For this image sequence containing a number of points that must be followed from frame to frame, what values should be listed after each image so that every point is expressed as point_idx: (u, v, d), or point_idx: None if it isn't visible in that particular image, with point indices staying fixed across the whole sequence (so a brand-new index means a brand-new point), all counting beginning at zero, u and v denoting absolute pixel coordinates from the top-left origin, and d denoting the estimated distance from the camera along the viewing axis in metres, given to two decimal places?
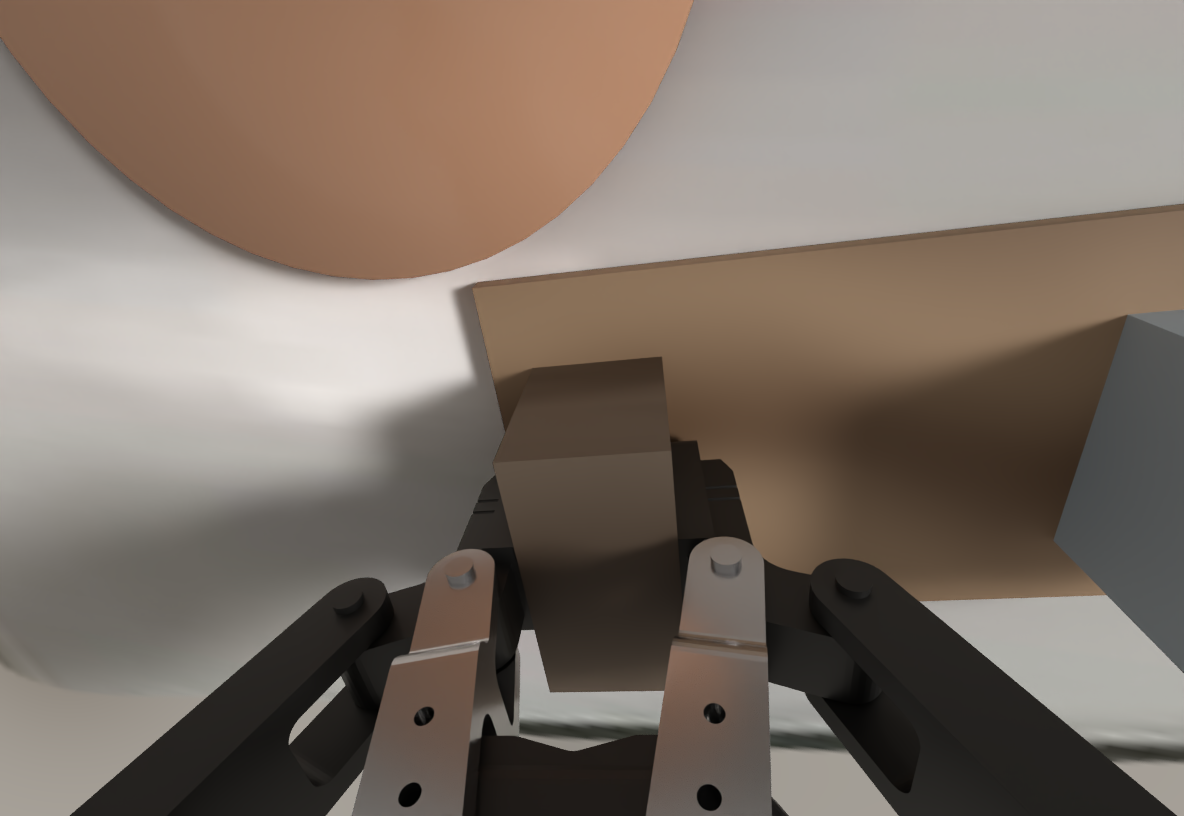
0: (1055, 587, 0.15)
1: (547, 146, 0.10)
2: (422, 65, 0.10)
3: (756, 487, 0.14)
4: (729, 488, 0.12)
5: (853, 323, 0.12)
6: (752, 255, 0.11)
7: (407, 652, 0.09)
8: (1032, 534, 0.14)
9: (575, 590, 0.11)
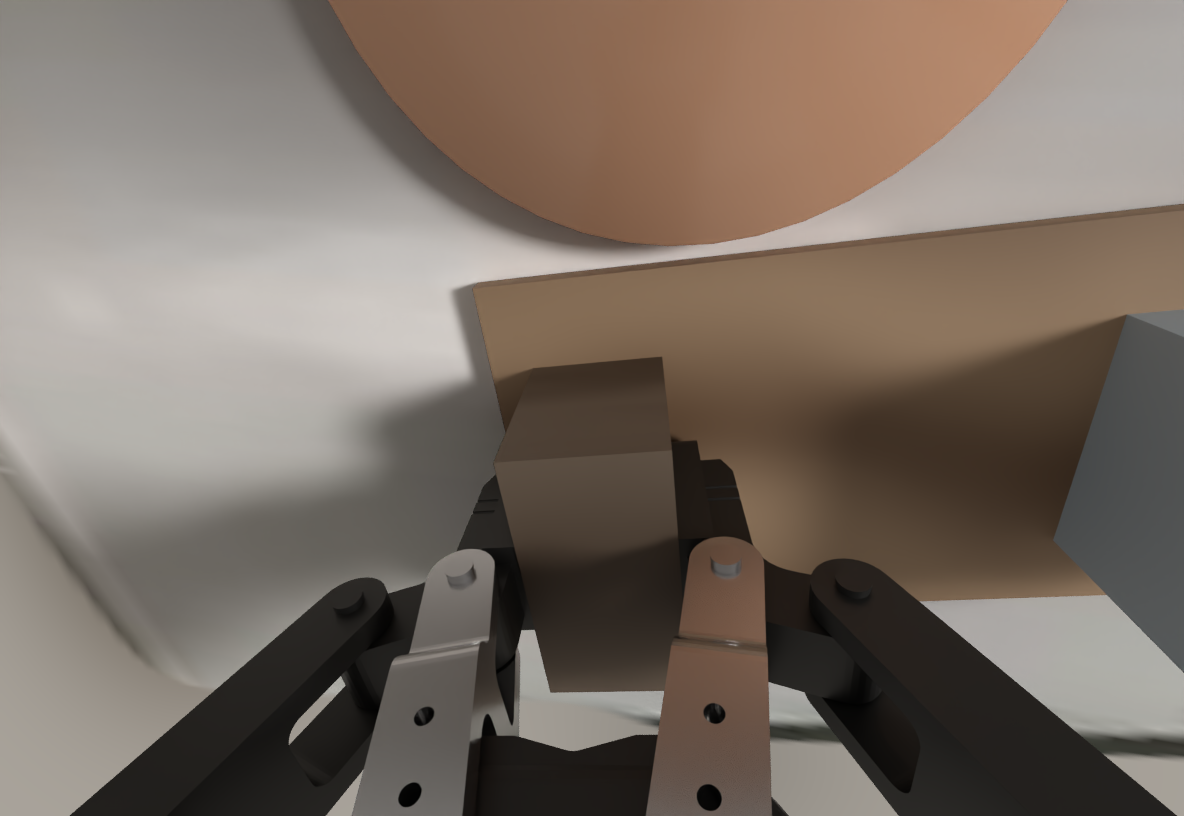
0: (1055, 587, 0.15)
1: (902, 96, 0.09)
2: (785, 5, 0.09)
3: (756, 487, 0.14)
4: (729, 488, 0.12)
5: (853, 323, 0.12)
6: (752, 255, 0.11)
7: (407, 652, 0.09)
8: (1032, 534, 0.14)
9: (575, 590, 0.11)
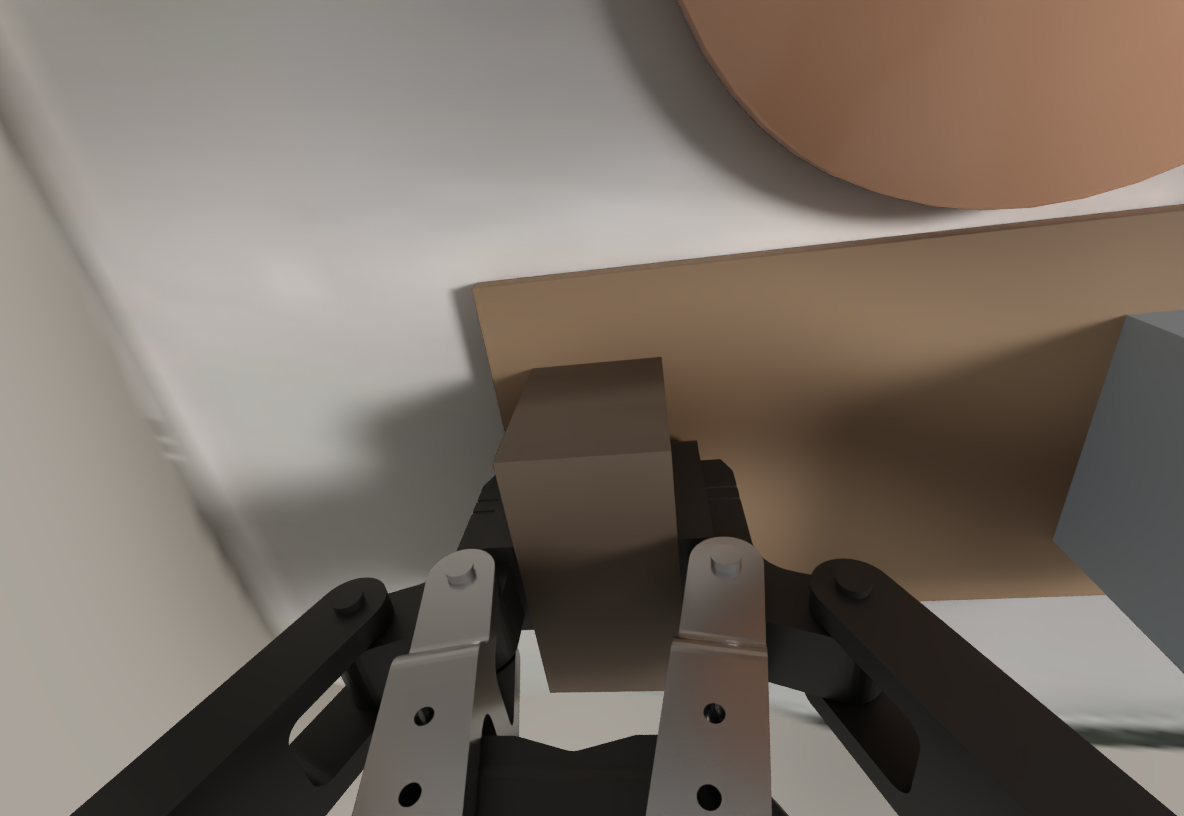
0: (1054, 587, 0.15)
1: None
2: None
3: (756, 487, 0.14)
4: (729, 488, 0.12)
5: (852, 323, 0.12)
6: (752, 255, 0.11)
7: (407, 652, 0.09)
8: (1031, 534, 0.14)
9: (575, 590, 0.11)
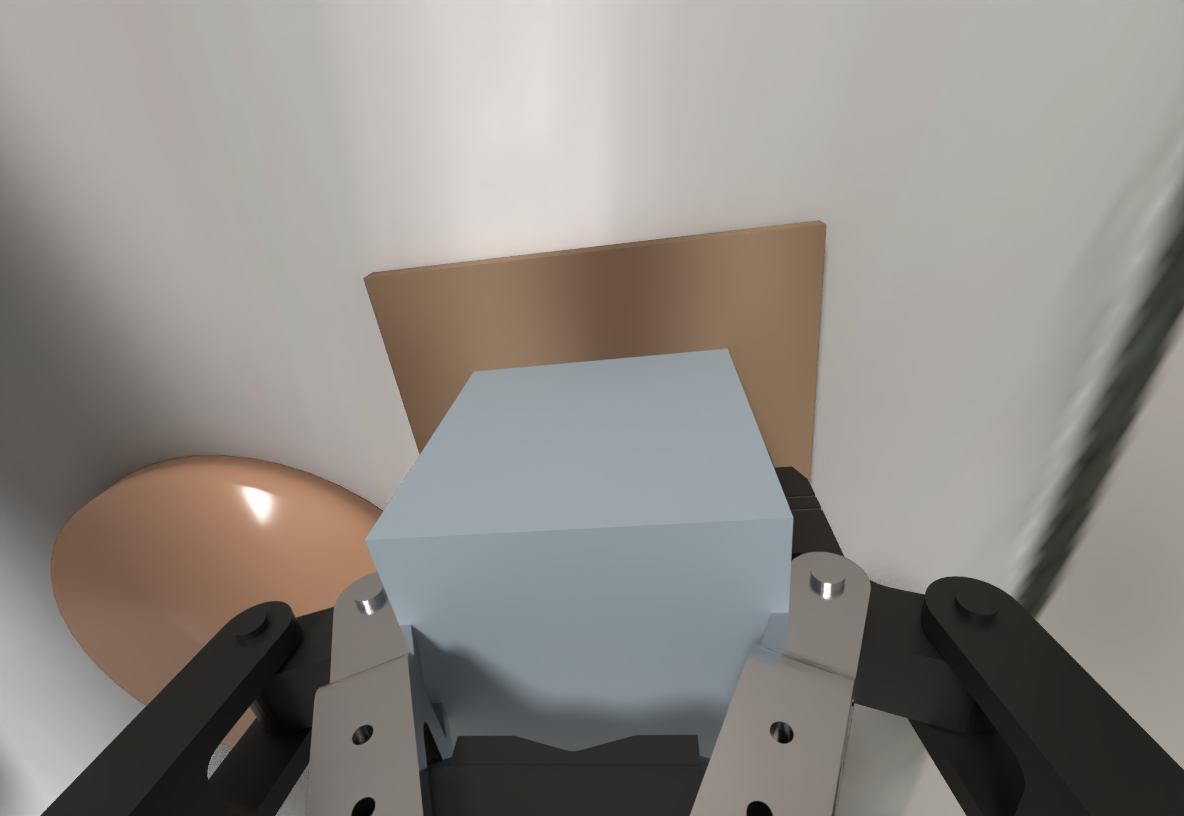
0: None
1: (355, 563, 0.16)
2: None
3: None
4: (807, 498, 0.11)
5: None
6: None
7: None
8: None
9: None
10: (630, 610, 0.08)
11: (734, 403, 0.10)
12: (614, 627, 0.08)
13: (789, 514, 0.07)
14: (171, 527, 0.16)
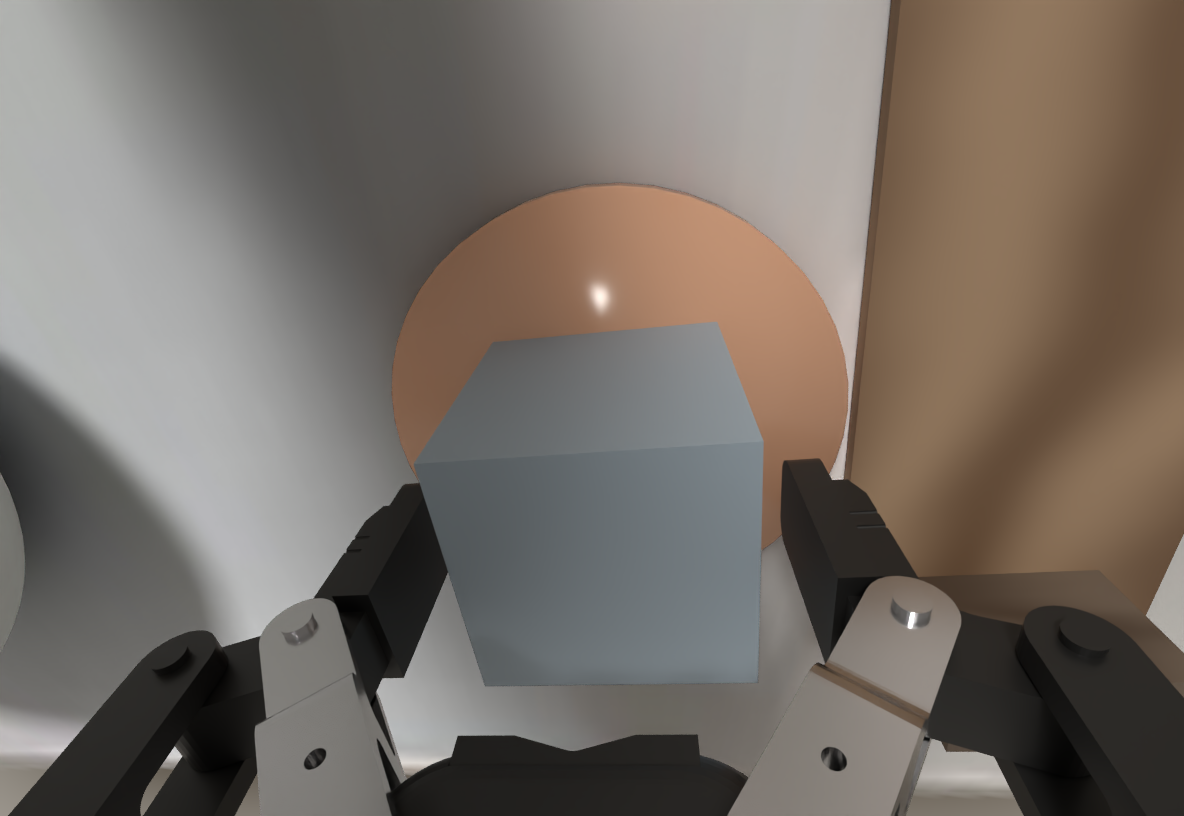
0: None
1: (772, 304, 0.14)
2: None
3: (1040, 521, 0.17)
4: (869, 514, 0.10)
5: (907, 477, 0.17)
6: None
7: None
8: None
9: None
10: (631, 526, 0.10)
11: (720, 363, 0.12)
12: (618, 540, 0.10)
13: (761, 439, 0.09)
14: (567, 260, 0.14)
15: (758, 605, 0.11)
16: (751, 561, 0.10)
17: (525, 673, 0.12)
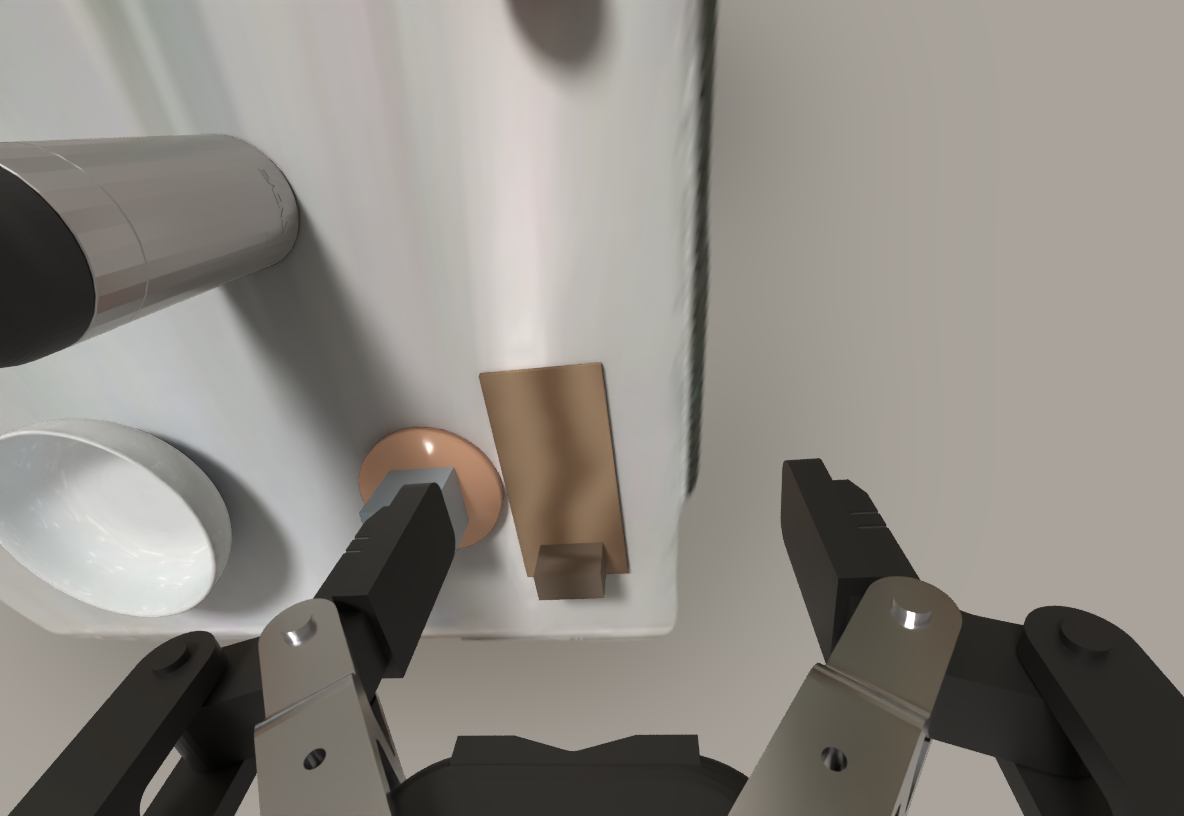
0: (608, 451, 0.47)
1: (468, 462, 0.48)
2: None
3: (576, 525, 0.51)
4: (869, 514, 0.10)
5: (529, 511, 0.51)
6: (516, 528, 0.52)
7: None
8: (587, 462, 0.48)
9: (569, 591, 0.49)
10: None
11: (441, 484, 0.46)
12: None
13: None
14: (408, 450, 0.48)
15: None
16: None
17: None
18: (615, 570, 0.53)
